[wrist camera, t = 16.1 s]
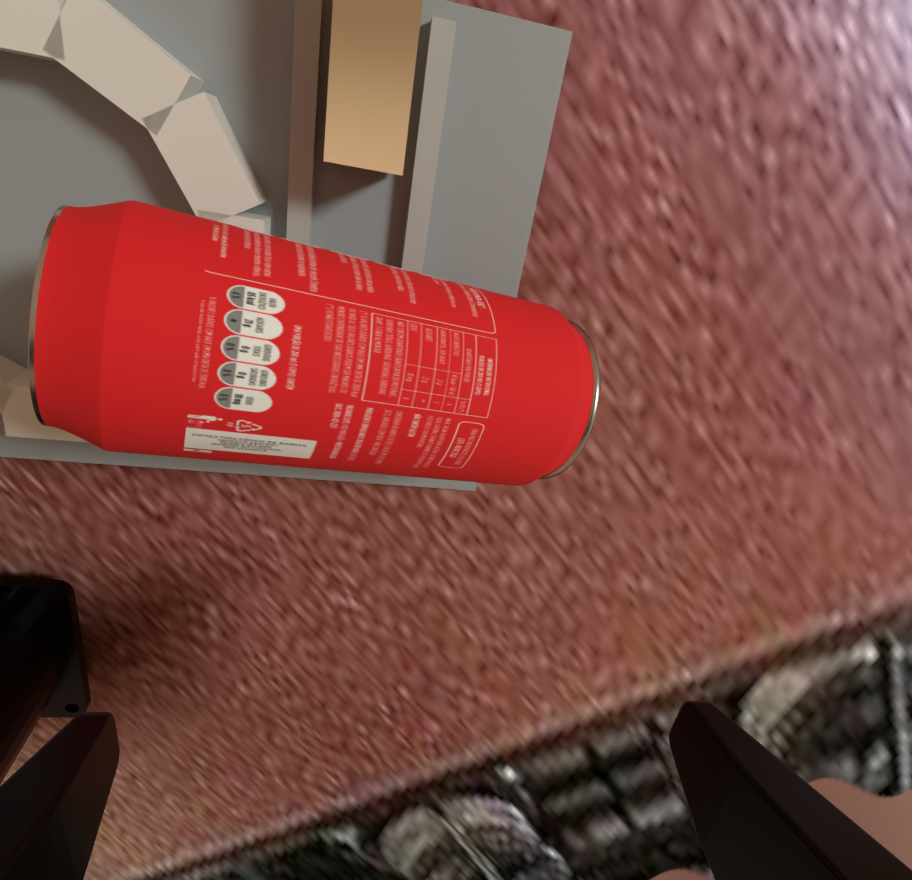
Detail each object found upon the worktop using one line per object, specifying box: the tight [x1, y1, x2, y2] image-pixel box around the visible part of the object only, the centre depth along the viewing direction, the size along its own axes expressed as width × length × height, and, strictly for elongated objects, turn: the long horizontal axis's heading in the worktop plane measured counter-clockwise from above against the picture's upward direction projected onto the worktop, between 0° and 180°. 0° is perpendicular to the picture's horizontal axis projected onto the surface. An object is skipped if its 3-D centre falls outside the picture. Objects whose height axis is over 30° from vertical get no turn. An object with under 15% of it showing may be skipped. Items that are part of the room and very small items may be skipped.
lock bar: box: [323, 0, 423, 176], centre depth 13 cm, size 5×2×2 cm, turn 170°
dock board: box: [0, 0, 573, 491], centre depth 15 cm, size 14×19×2 cm
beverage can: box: [28, 200, 600, 486], centre depth 14 cm, size 5×5×12 cm
